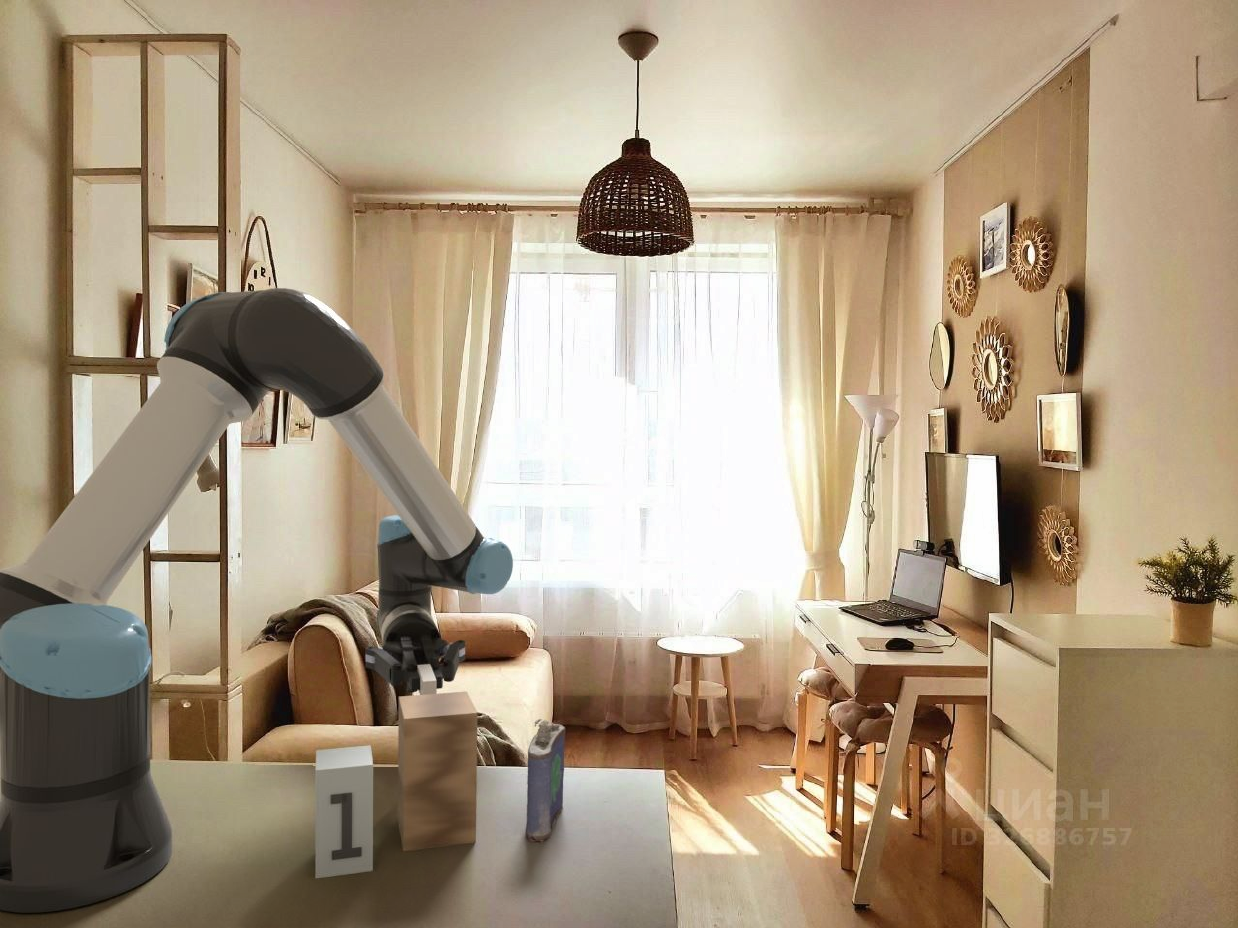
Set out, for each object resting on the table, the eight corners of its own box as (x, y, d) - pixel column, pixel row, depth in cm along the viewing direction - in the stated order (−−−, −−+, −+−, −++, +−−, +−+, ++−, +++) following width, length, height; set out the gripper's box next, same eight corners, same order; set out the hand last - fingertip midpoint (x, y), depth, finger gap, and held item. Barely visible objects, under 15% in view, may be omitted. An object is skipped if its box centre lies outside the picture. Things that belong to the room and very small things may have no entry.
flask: (547, 843, 89) (548, 737, 88) (518, 840, 89) (519, 735, 89) (566, 803, 98) (567, 707, 97) (540, 801, 98) (541, 705, 98)
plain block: (403, 851, 87) (404, 718, 86) (397, 819, 93) (398, 696, 93) (475, 841, 89) (477, 712, 88) (465, 811, 96) (466, 691, 95)
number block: (315, 879, 81) (315, 771, 81) (316, 852, 86) (316, 750, 86) (372, 871, 83) (373, 765, 82) (370, 845, 88) (370, 745, 87)
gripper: (458, 661, 126) (487, 719, 103) (361, 669, 121) (370, 731, 99) (458, 608, 125) (487, 655, 103) (361, 614, 121) (369, 664, 99)
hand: (429, 692), depth 101 cm, fingers closed
